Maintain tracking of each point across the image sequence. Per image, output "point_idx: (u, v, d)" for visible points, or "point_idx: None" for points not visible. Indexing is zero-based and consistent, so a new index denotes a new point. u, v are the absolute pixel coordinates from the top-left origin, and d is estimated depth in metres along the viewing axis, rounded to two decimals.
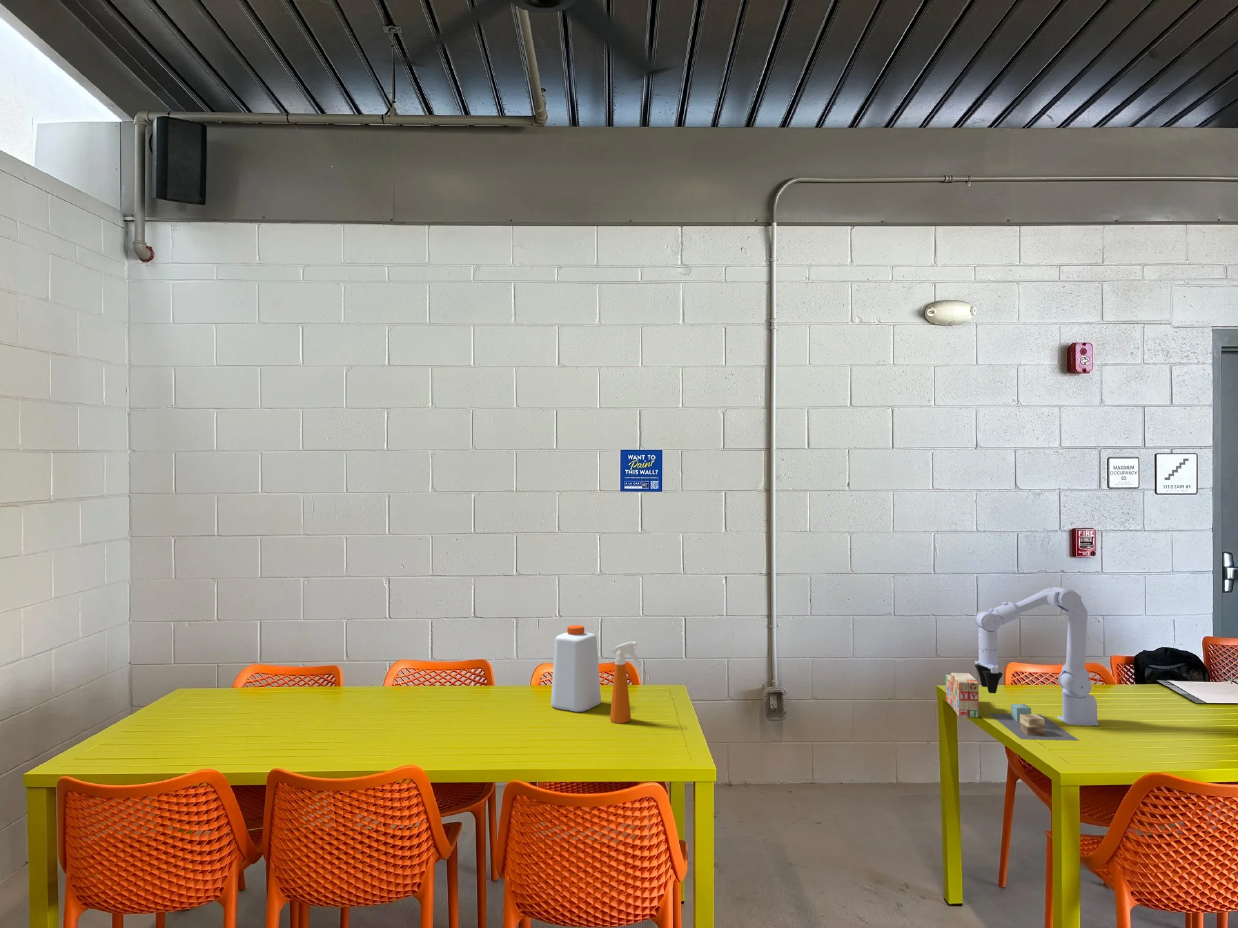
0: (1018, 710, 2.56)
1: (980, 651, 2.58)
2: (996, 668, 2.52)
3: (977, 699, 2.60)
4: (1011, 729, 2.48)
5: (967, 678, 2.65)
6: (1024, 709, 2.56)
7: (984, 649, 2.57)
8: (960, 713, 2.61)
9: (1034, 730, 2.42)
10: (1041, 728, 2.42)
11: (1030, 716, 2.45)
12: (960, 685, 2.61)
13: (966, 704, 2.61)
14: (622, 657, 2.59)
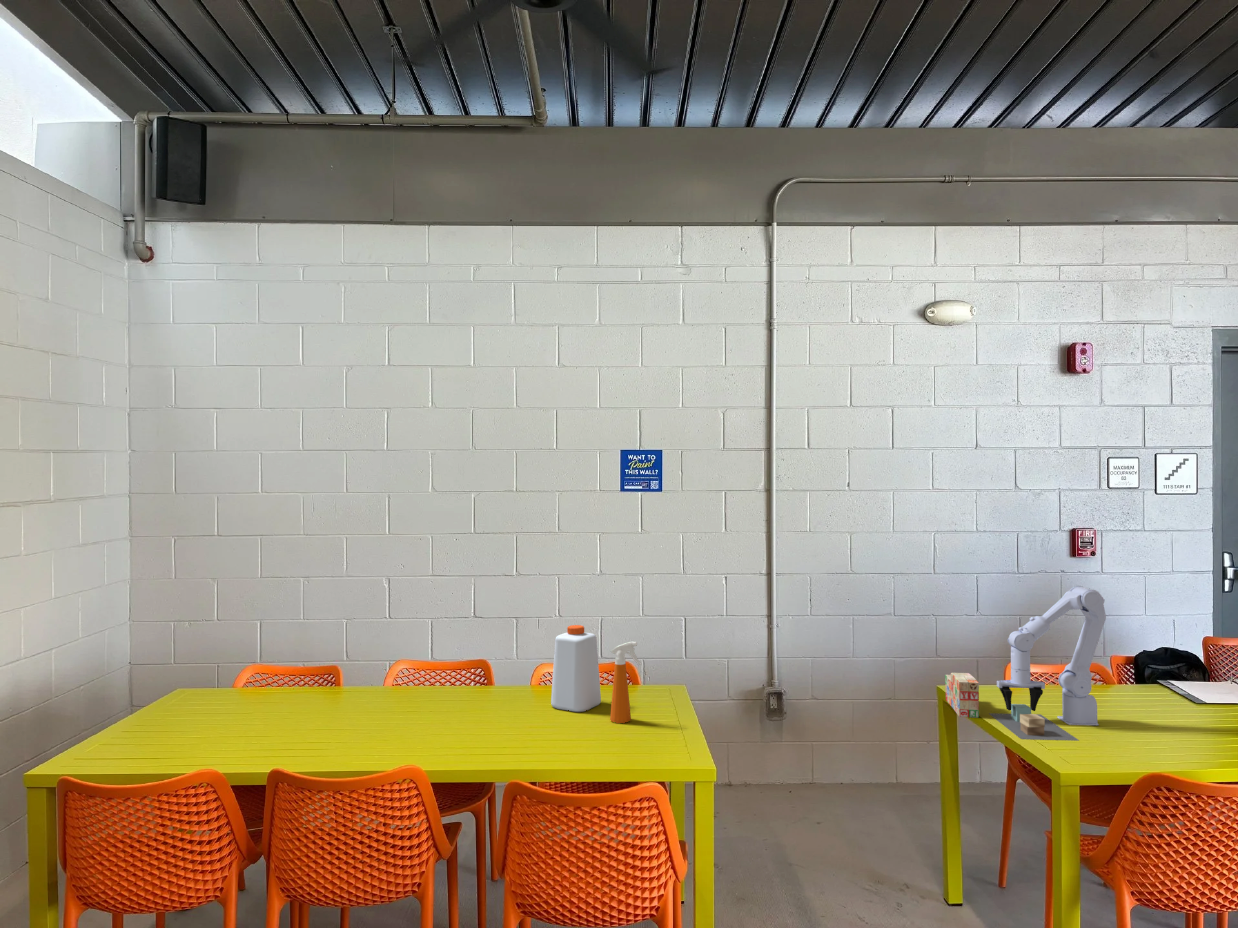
0: (1018, 710, 2.56)
1: None
2: (998, 682, 2.58)
3: (977, 699, 2.60)
4: (1011, 729, 2.48)
5: (967, 678, 2.65)
6: (1024, 709, 2.56)
7: None
8: (960, 713, 2.61)
9: (1034, 730, 2.42)
10: (1041, 728, 2.42)
11: (1030, 716, 2.45)
12: (960, 685, 2.61)
13: (966, 704, 2.61)
14: (622, 657, 2.59)
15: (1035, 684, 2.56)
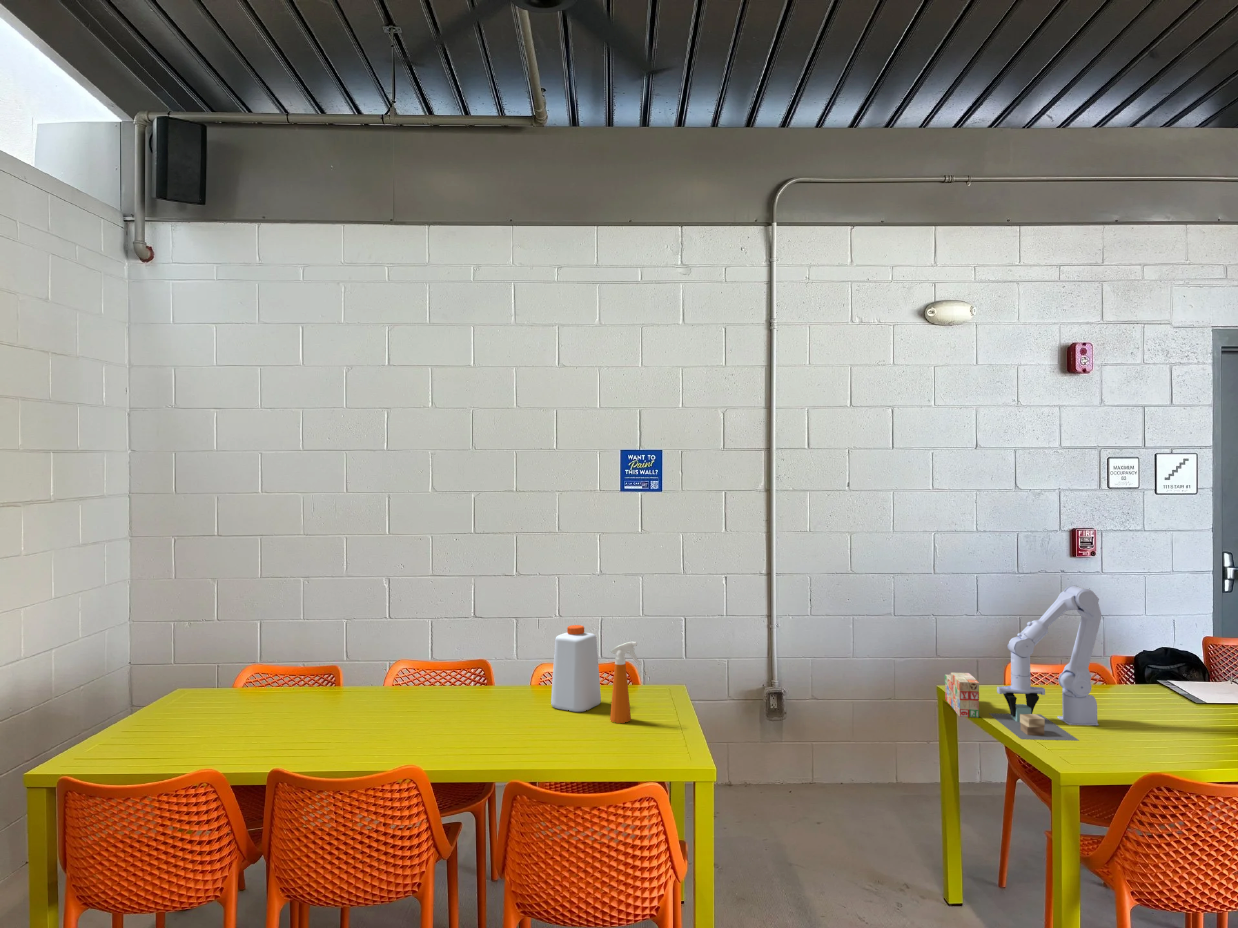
0: (1018, 710, 2.56)
1: None
2: (998, 688, 2.58)
3: (977, 699, 2.61)
4: (1011, 729, 2.48)
5: (967, 678, 2.65)
6: (1024, 709, 2.56)
7: None
8: (961, 713, 2.61)
9: (1034, 730, 2.42)
10: (1041, 728, 2.42)
11: (1030, 716, 2.45)
12: (961, 685, 2.62)
13: (966, 704, 2.61)
14: (622, 657, 2.59)
15: (1035, 690, 2.56)
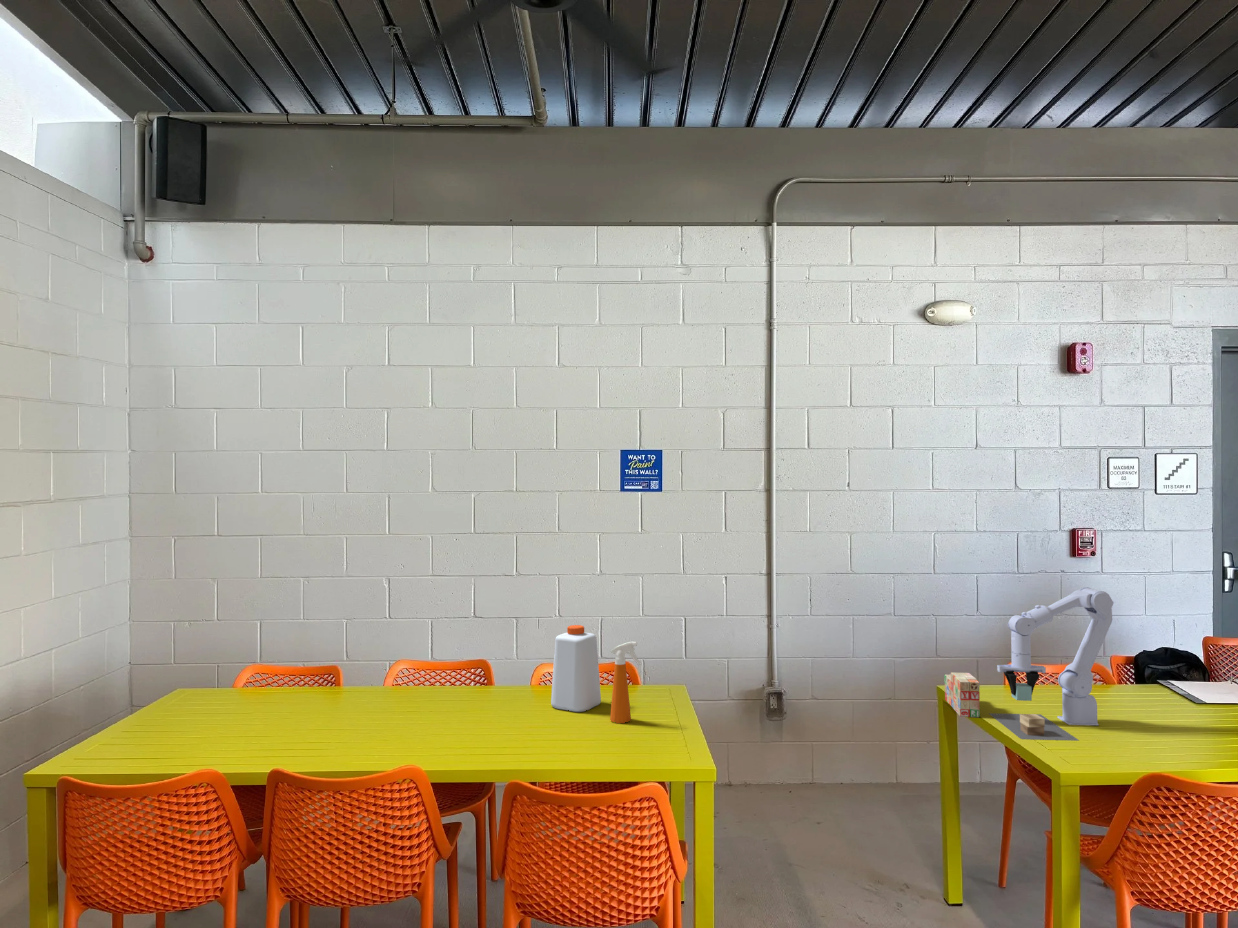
0: (1018, 689, 2.55)
1: None
2: (998, 667, 2.57)
3: (978, 699, 2.61)
4: (1011, 729, 2.48)
5: (968, 678, 2.66)
6: (1024, 688, 2.55)
7: None
8: (961, 713, 2.62)
9: (1034, 730, 2.42)
10: (1041, 728, 2.42)
11: (1030, 716, 2.45)
12: (961, 685, 2.62)
13: (967, 704, 2.61)
14: (622, 657, 2.59)
15: (1036, 668, 2.55)
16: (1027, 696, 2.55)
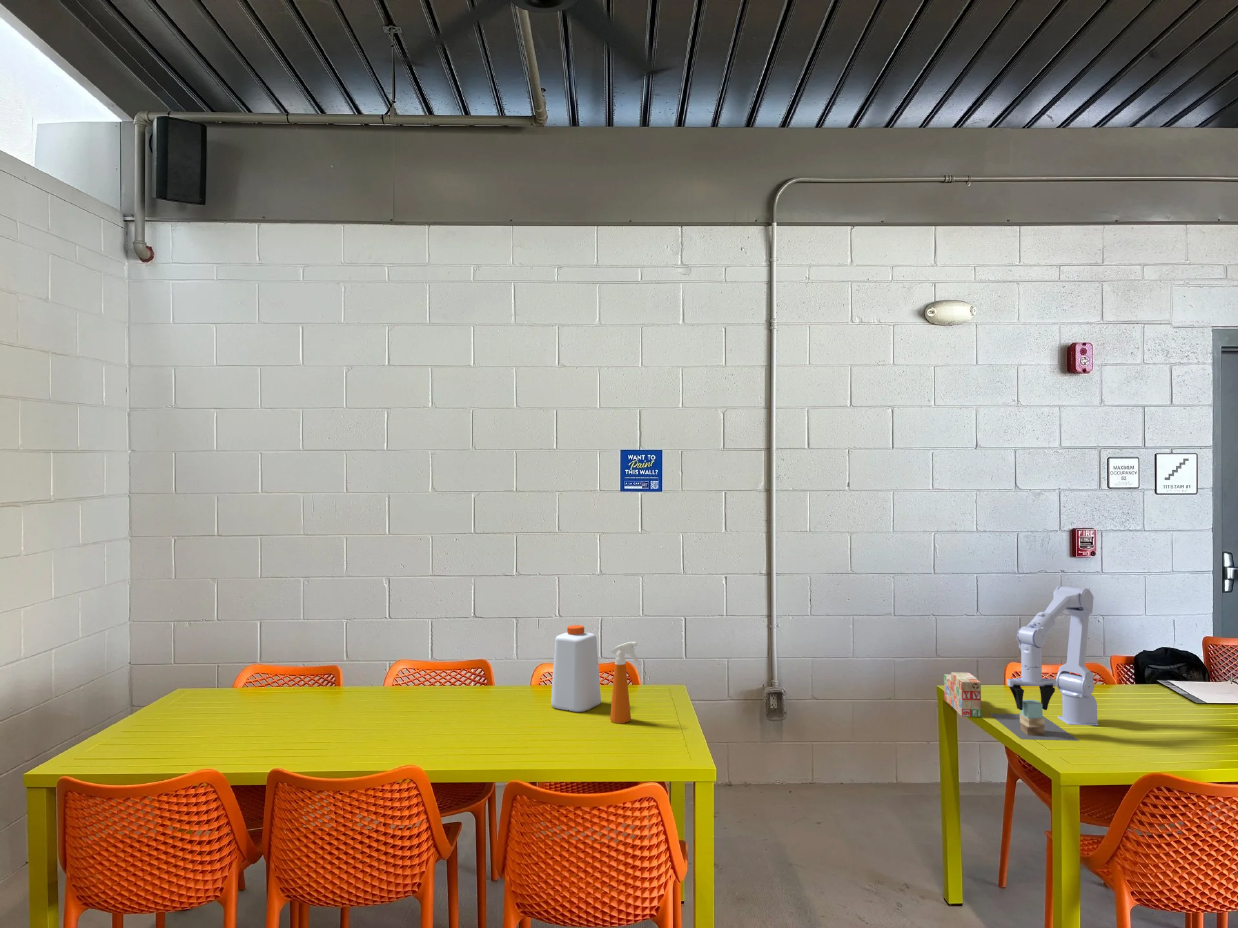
0: (1029, 706, 2.43)
1: None
2: (1009, 681, 2.45)
3: (979, 698, 2.61)
4: (1011, 729, 2.48)
5: (969, 677, 2.66)
6: (1035, 705, 2.43)
7: None
8: (963, 713, 2.62)
9: (1034, 730, 2.42)
10: (1041, 728, 2.42)
11: None
12: (963, 685, 2.62)
13: (968, 703, 2.61)
14: (622, 657, 2.59)
15: (1047, 682, 2.43)
16: (1038, 714, 2.43)
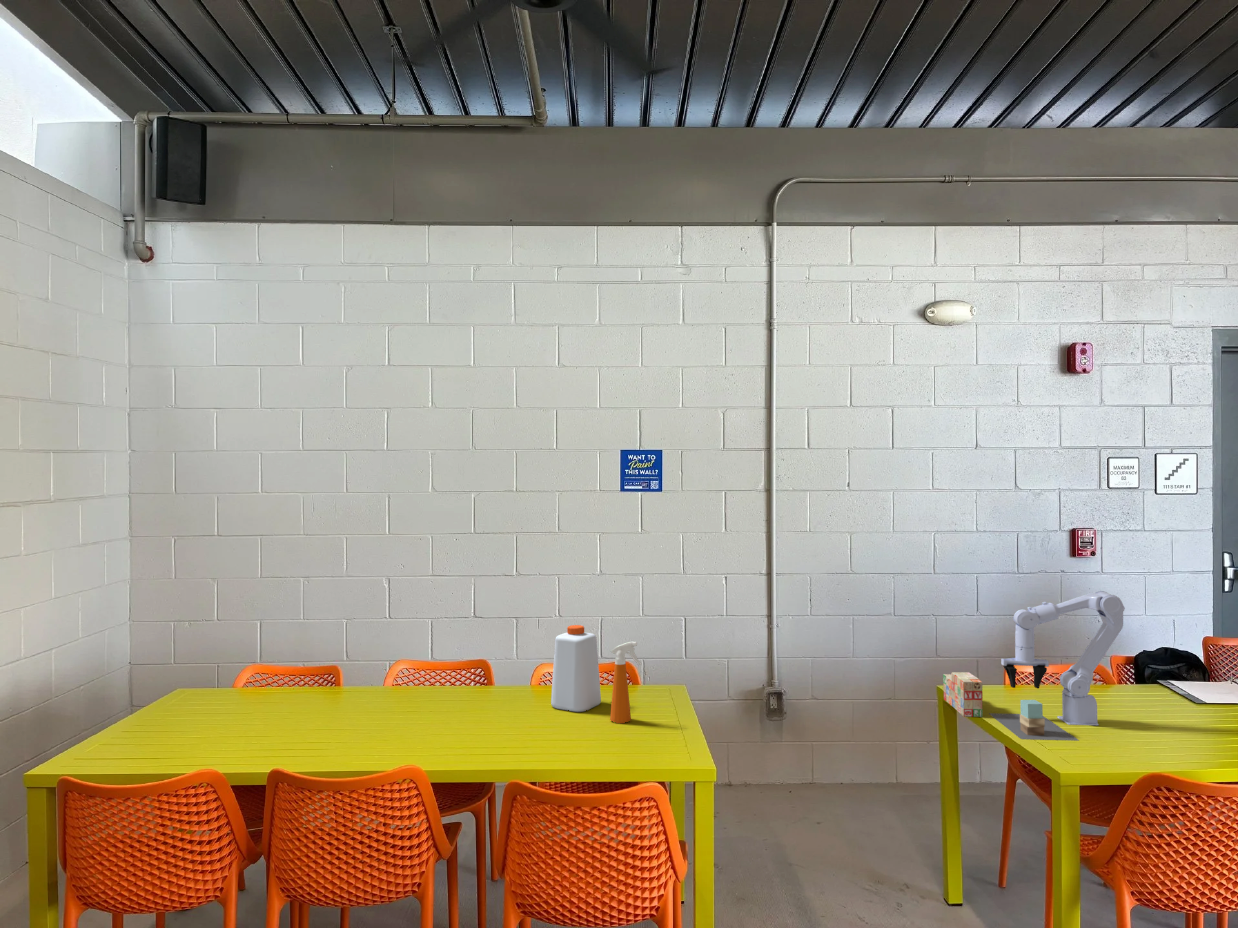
0: (1029, 706, 2.43)
1: None
2: (1002, 660, 2.60)
3: (981, 698, 2.61)
4: (1011, 729, 2.48)
5: (970, 677, 2.66)
6: (1035, 705, 2.43)
7: None
8: (964, 713, 2.62)
9: (1034, 730, 2.42)
10: (1041, 728, 2.42)
11: None
12: (964, 685, 2.62)
13: (970, 703, 2.61)
14: (622, 657, 2.59)
15: (1039, 662, 2.58)
16: (1038, 714, 2.43)
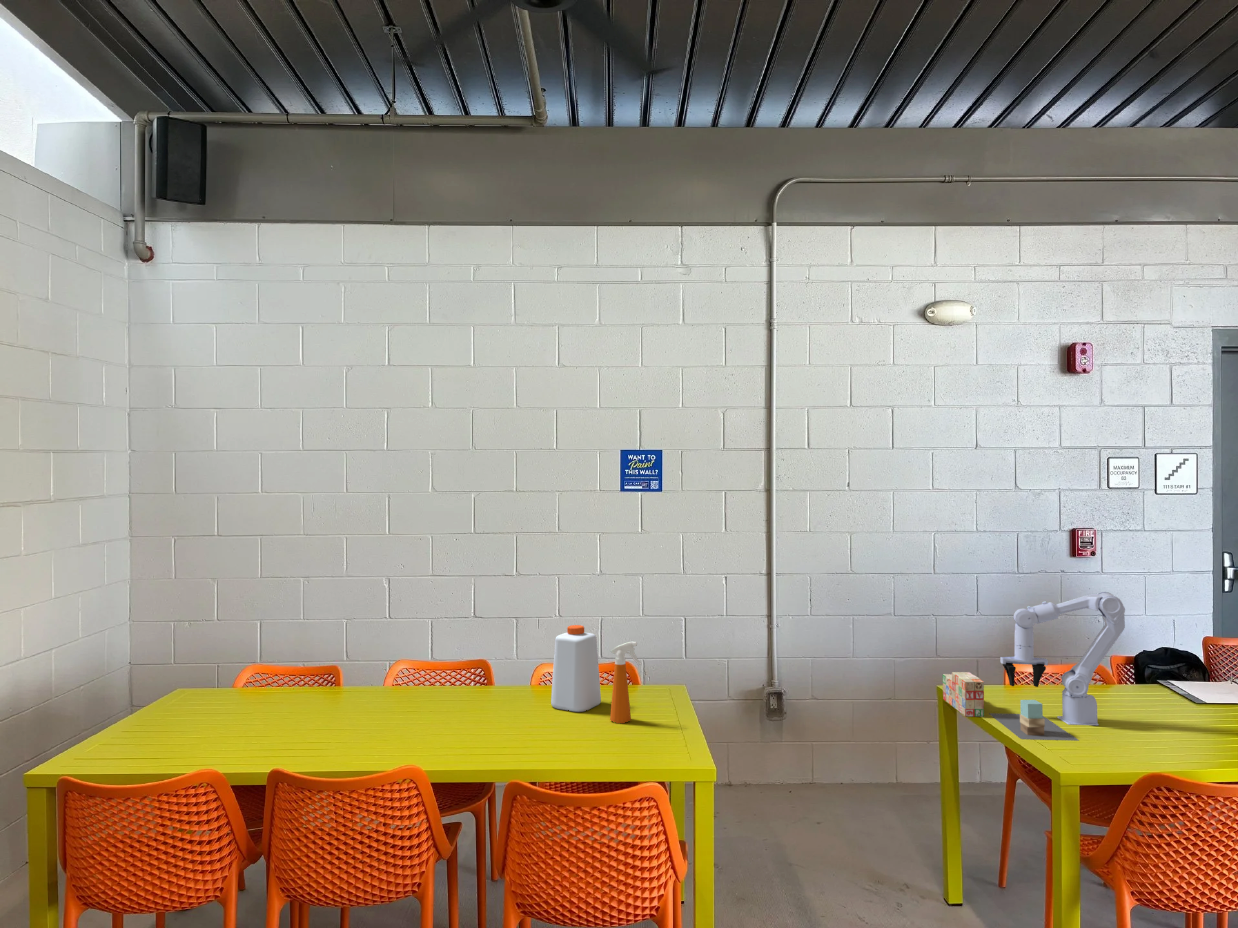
0: (1029, 706, 2.43)
1: None
2: (1002, 659, 2.62)
3: (982, 698, 2.61)
4: (1011, 729, 2.48)
5: (971, 677, 2.66)
6: (1035, 705, 2.43)
7: None
8: (966, 712, 2.62)
9: (1034, 730, 2.42)
10: (1041, 728, 2.42)
11: None
12: (966, 685, 2.62)
13: (972, 703, 2.62)
14: (622, 657, 2.59)
15: (1038, 660, 2.60)
16: (1038, 714, 2.43)
